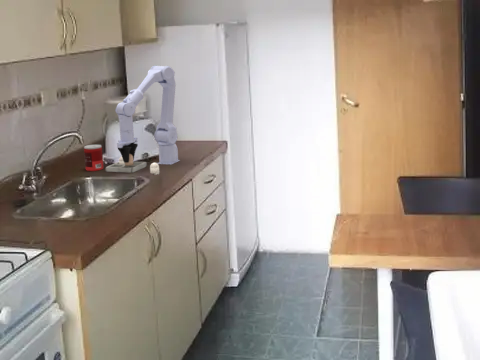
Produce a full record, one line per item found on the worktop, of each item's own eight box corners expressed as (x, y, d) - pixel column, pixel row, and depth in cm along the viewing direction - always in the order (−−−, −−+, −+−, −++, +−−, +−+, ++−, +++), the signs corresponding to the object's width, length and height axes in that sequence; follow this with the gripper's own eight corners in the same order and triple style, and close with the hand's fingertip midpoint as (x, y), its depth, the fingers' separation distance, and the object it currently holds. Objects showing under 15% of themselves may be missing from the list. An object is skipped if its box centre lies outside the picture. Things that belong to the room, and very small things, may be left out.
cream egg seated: (122, 165, 305) (121, 155, 304) (129, 166, 304) (128, 155, 302) (117, 167, 301) (117, 156, 300) (125, 168, 300) (124, 157, 299)
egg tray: (120, 166, 307) (120, 161, 306) (147, 167, 303) (146, 162, 302) (105, 172, 295) (105, 167, 294) (133, 173, 291) (132, 168, 290)
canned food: (105, 168, 304) (103, 144, 301) (100, 172, 296) (98, 147, 293) (89, 168, 304) (87, 144, 302) (83, 172, 297) (81, 147, 294)
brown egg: (127, 163, 296) (126, 152, 295) (135, 163, 295) (134, 152, 294) (123, 165, 293) (122, 154, 292) (131, 165, 292) (130, 154, 291)
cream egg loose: (152, 172, 292) (152, 161, 291) (160, 173, 290) (160, 161, 289) (148, 174, 288) (148, 163, 287) (157, 175, 287) (156, 163, 286)
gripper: (126, 127, 299) (128, 157, 302) (109, 132, 285) (112, 164, 288) (140, 127, 296) (142, 158, 299) (124, 133, 283) (127, 165, 286)
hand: (128, 161), depth 294 cm, fingers closed on brown egg, 4 cm apart
